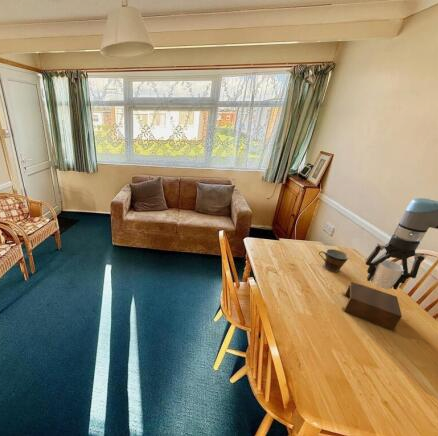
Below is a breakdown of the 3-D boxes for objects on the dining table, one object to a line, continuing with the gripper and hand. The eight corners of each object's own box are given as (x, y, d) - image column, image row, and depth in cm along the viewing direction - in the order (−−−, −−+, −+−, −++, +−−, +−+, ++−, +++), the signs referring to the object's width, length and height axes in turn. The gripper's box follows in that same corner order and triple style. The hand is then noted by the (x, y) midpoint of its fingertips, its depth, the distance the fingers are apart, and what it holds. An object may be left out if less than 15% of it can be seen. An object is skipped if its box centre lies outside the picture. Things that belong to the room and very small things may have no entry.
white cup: (395, 285, 97) (407, 266, 93) (390, 292, 93) (402, 273, 89) (371, 275, 103) (381, 257, 99) (366, 282, 99) (375, 263, 95)
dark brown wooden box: (389, 309, 105) (397, 296, 101) (393, 330, 95) (402, 316, 91) (344, 293, 114) (350, 281, 110) (344, 311, 104) (350, 298, 101)
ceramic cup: (340, 266, 134) (347, 252, 130) (343, 275, 126) (350, 261, 122) (314, 259, 140) (319, 246, 136) (315, 268, 132) (320, 254, 128)
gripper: (372, 233, 92) (350, 278, 101) (449, 250, 80) (417, 299, 90) (370, 226, 97) (350, 269, 107) (443, 242, 85) (413, 289, 95)
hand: (381, 283), depth 98 cm, fingers closed on white cup, 8 cm apart
